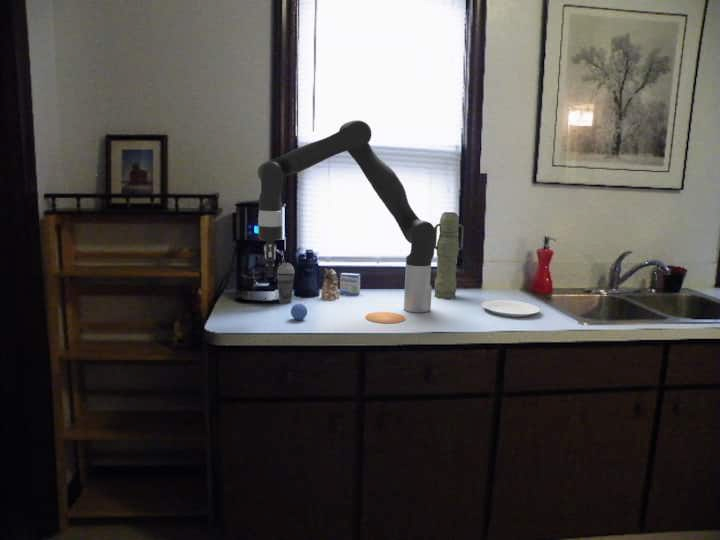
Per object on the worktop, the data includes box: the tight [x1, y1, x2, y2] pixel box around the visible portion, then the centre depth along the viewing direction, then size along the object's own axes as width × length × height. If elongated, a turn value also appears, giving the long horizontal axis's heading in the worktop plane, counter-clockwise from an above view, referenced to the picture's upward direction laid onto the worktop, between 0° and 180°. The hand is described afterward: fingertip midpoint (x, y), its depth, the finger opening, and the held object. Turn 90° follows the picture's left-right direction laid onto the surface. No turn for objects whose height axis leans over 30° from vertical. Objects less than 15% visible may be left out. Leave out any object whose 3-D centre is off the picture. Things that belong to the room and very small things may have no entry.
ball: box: [290, 303, 308, 321], centre depth 171 cm, size 6×6×6 cm
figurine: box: [320, 268, 340, 301], centre depth 202 cm, size 7×7×12 cm
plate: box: [481, 299, 541, 318], centre depth 189 cm, size 21×21×2 cm
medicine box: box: [339, 272, 361, 296], centre depth 210 cm, size 8×4×9 cm, turn 80°
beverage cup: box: [275, 250, 296, 305], centre depth 192 cm, size 7×7×20 cm
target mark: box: [365, 311, 407, 325], centre depth 176 cm, size 14×14×1 cm
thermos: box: [433, 211, 465, 300], centre depth 208 cm, size 9×12×35 cm
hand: (270, 276), depth 167 cm, fingers closed
